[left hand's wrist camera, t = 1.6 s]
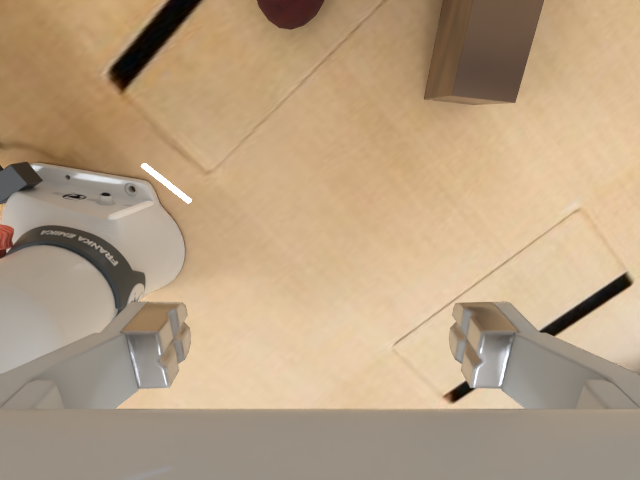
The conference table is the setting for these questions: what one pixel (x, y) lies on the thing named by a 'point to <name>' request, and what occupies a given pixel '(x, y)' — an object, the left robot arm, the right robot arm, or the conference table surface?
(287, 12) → the dark red rounded ball
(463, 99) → the box
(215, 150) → the conference table surface
